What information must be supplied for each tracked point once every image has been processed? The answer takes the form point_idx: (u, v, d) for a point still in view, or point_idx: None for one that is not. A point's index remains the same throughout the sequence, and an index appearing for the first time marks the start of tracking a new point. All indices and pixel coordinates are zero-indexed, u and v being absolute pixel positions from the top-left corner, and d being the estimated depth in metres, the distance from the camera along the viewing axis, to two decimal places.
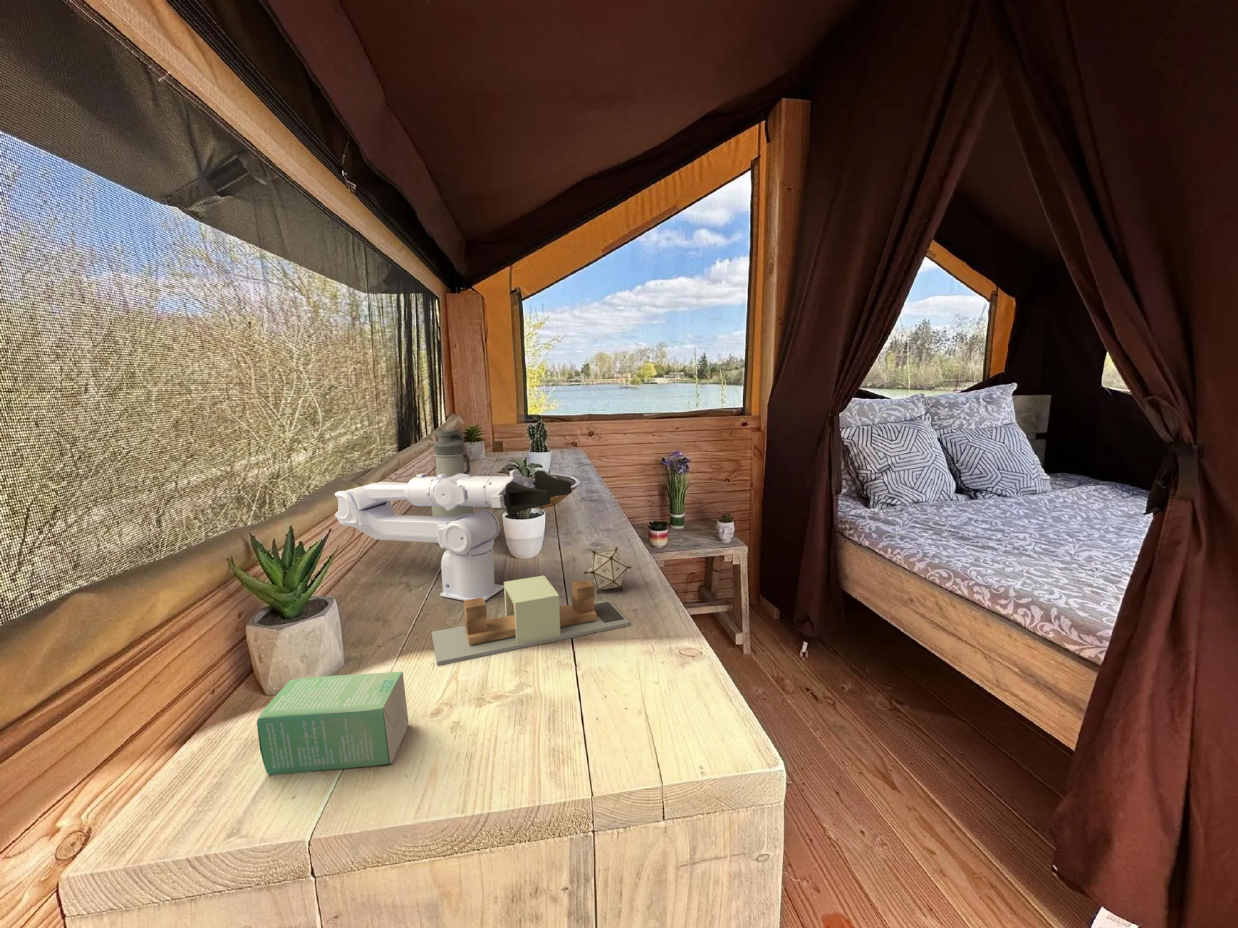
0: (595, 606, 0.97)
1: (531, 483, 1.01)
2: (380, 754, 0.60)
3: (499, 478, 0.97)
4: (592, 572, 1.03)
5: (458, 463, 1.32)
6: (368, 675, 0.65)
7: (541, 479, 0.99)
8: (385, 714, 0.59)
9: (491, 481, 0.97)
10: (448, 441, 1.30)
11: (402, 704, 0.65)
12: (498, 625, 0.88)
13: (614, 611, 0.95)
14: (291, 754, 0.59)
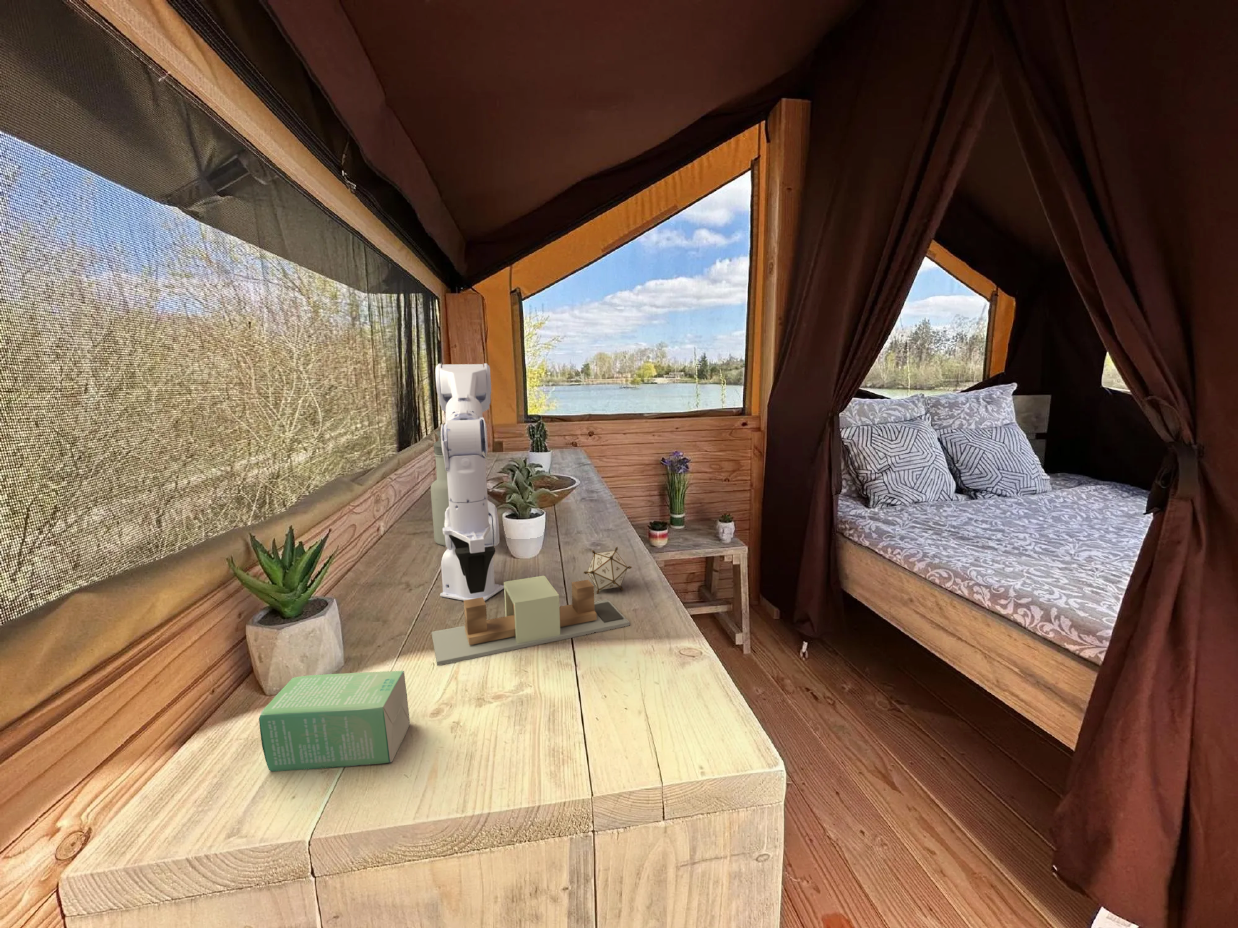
0: (595, 606, 0.97)
1: None
2: (380, 753, 0.60)
3: None
4: (592, 572, 1.03)
5: None
6: (370, 674, 0.65)
7: None
8: (385, 713, 0.59)
9: None
10: None
11: (403, 703, 0.65)
12: (498, 625, 0.88)
13: (614, 611, 0.95)
14: (293, 752, 0.59)
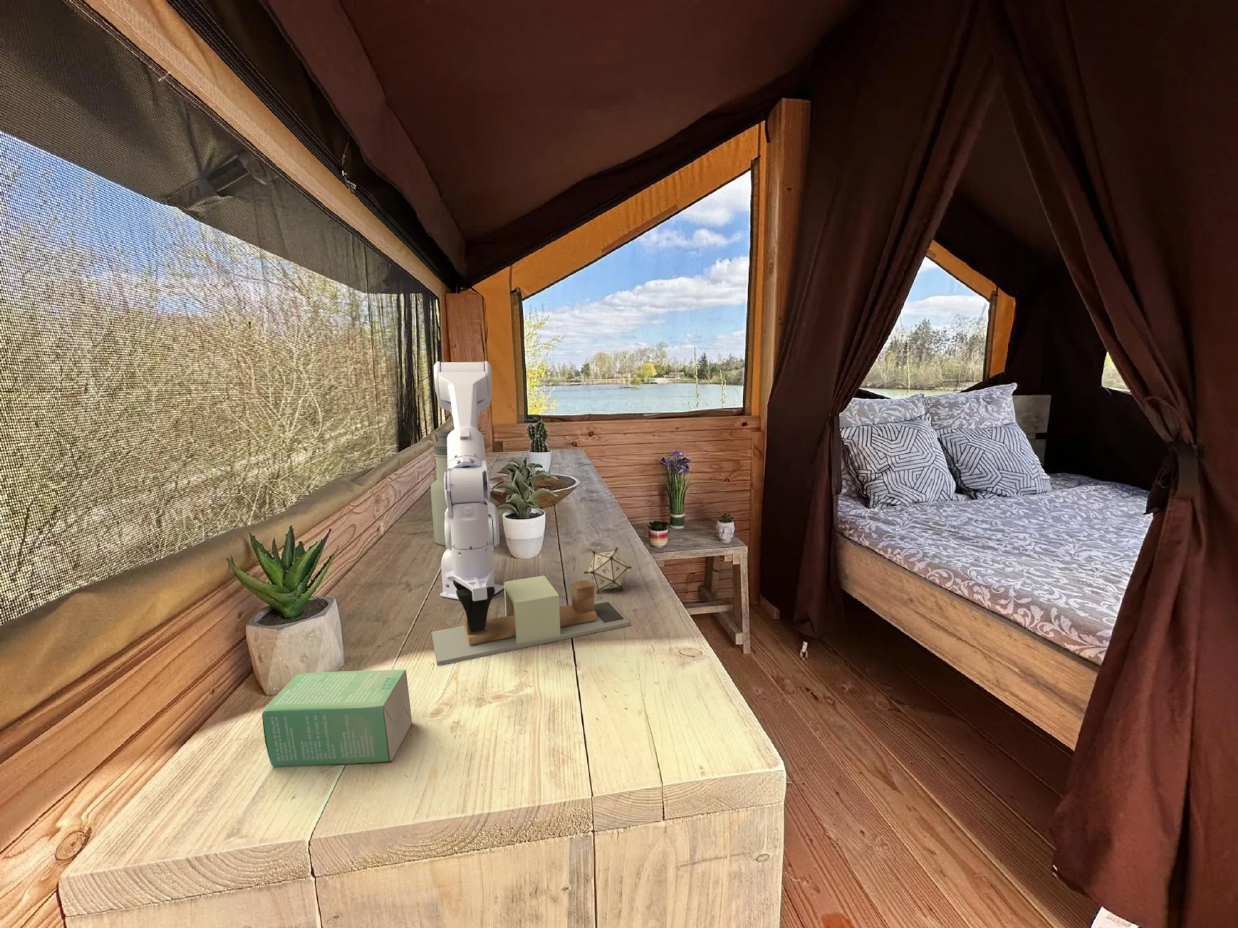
0: (595, 606, 0.97)
1: None
2: (380, 751, 0.60)
3: None
4: (592, 572, 1.03)
5: None
6: (372, 672, 0.65)
7: None
8: (385, 712, 0.60)
9: None
10: None
11: (405, 702, 0.65)
12: (498, 625, 0.88)
13: (614, 611, 0.95)
14: (294, 748, 0.60)
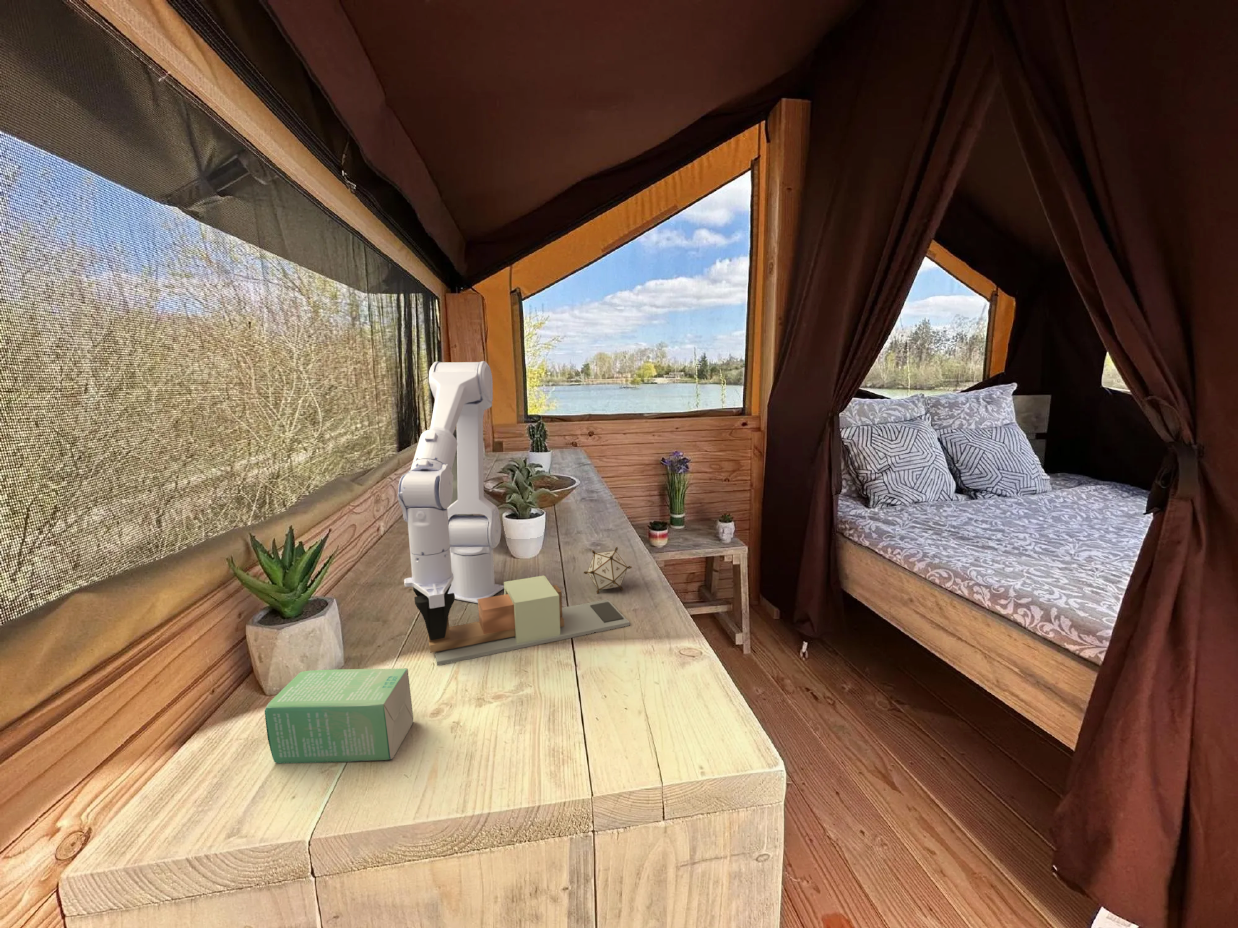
0: (595, 606, 0.97)
1: None
2: (381, 749, 0.60)
3: None
4: (592, 572, 1.03)
5: None
6: (374, 670, 0.66)
7: None
8: (385, 710, 0.60)
9: None
10: None
11: (406, 700, 0.66)
12: (462, 632, 0.86)
13: (614, 611, 0.95)
14: (296, 745, 0.60)
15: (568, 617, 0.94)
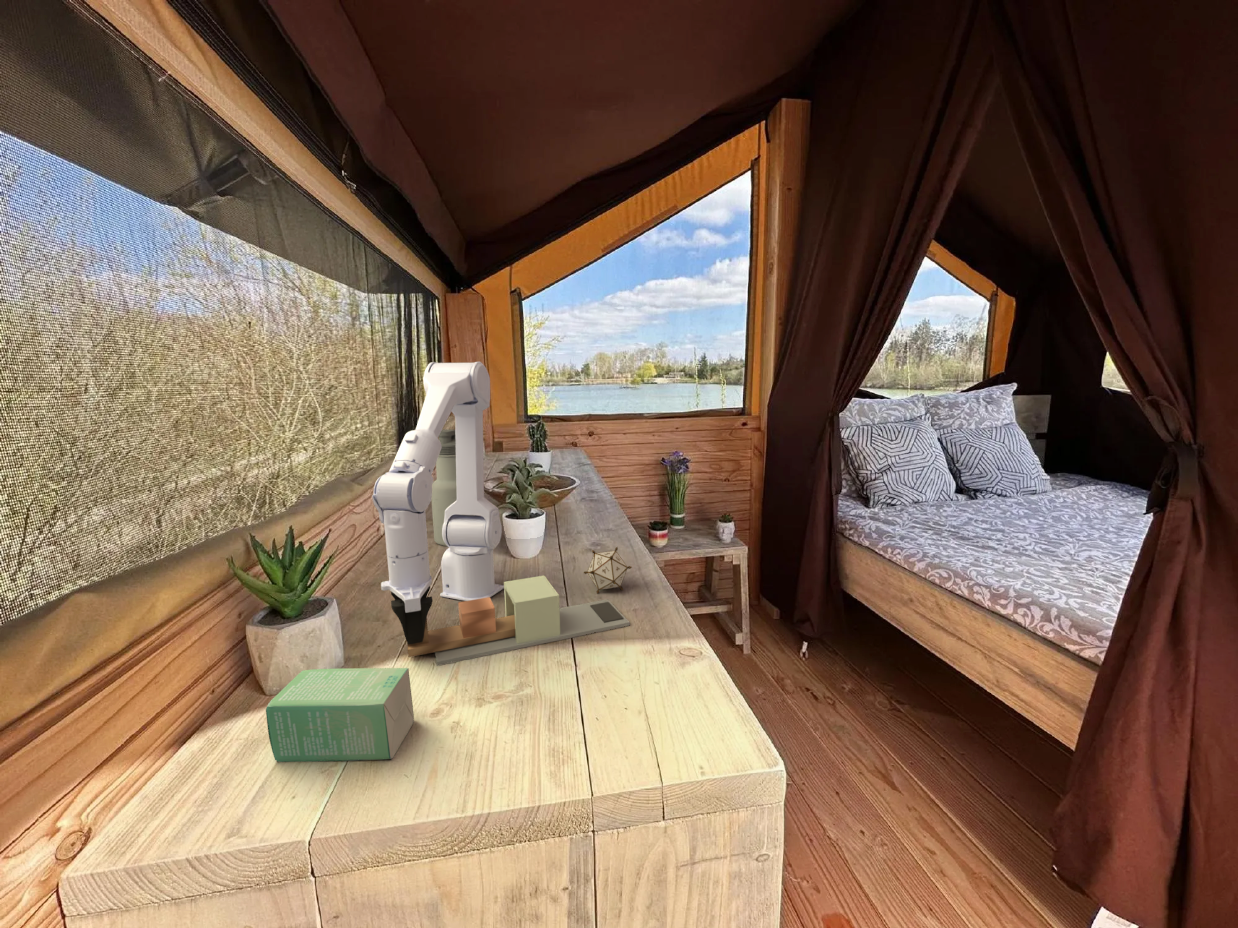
0: (595, 606, 0.97)
1: None
2: (381, 749, 0.60)
3: None
4: (592, 572, 1.03)
5: None
6: (375, 670, 0.66)
7: None
8: (385, 710, 0.60)
9: None
10: (448, 441, 1.30)
11: (407, 700, 0.66)
12: (441, 635, 0.84)
13: (614, 611, 0.95)
14: (297, 743, 0.60)
15: (568, 617, 0.94)
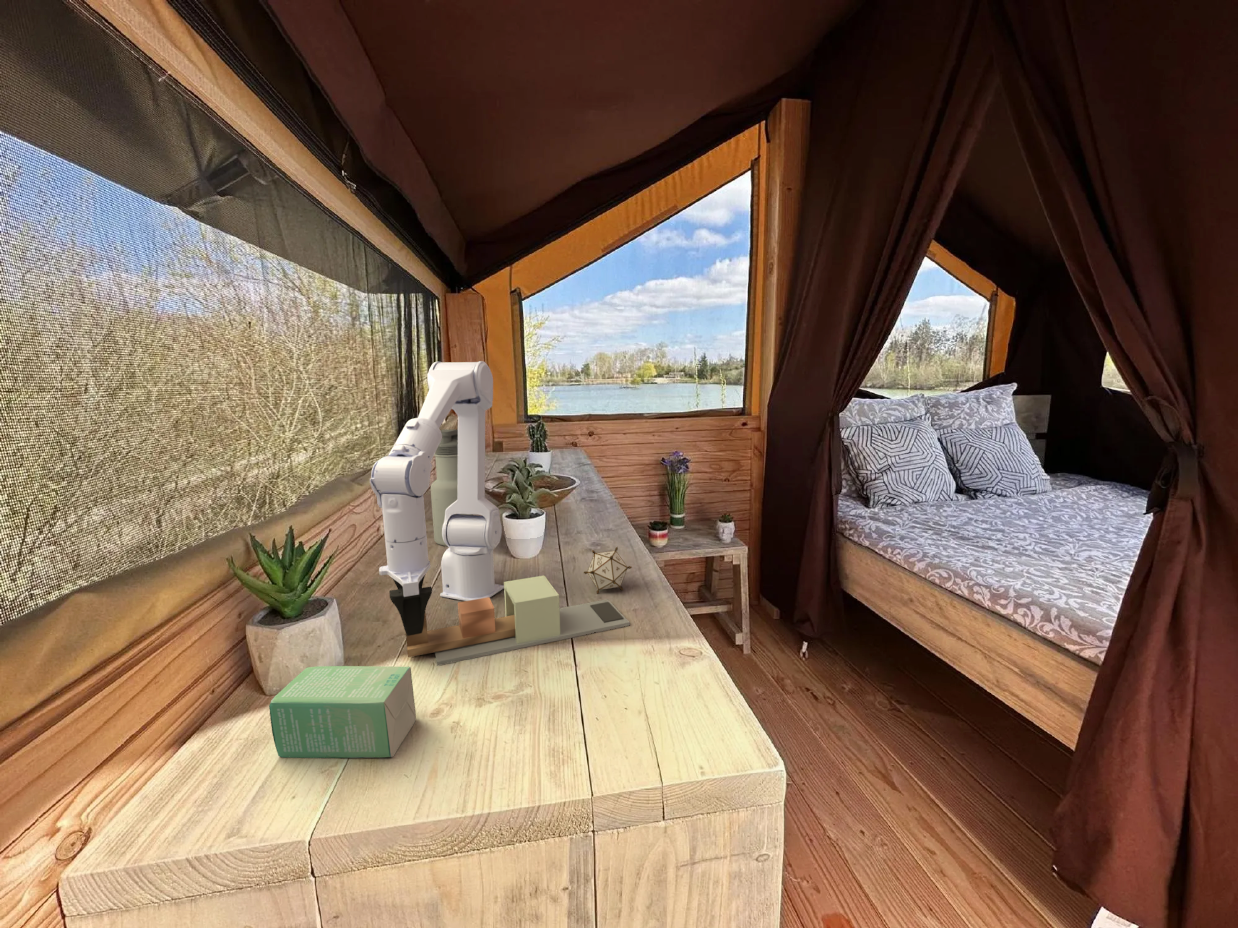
0: (595, 606, 0.97)
1: None
2: (381, 747, 0.61)
3: None
4: (592, 572, 1.03)
5: None
6: (378, 668, 0.66)
7: None
8: (386, 708, 0.60)
9: None
10: (448, 441, 1.30)
11: (408, 699, 0.66)
12: (441, 636, 0.84)
13: (614, 611, 0.95)
14: (300, 740, 0.61)
15: (568, 617, 0.94)
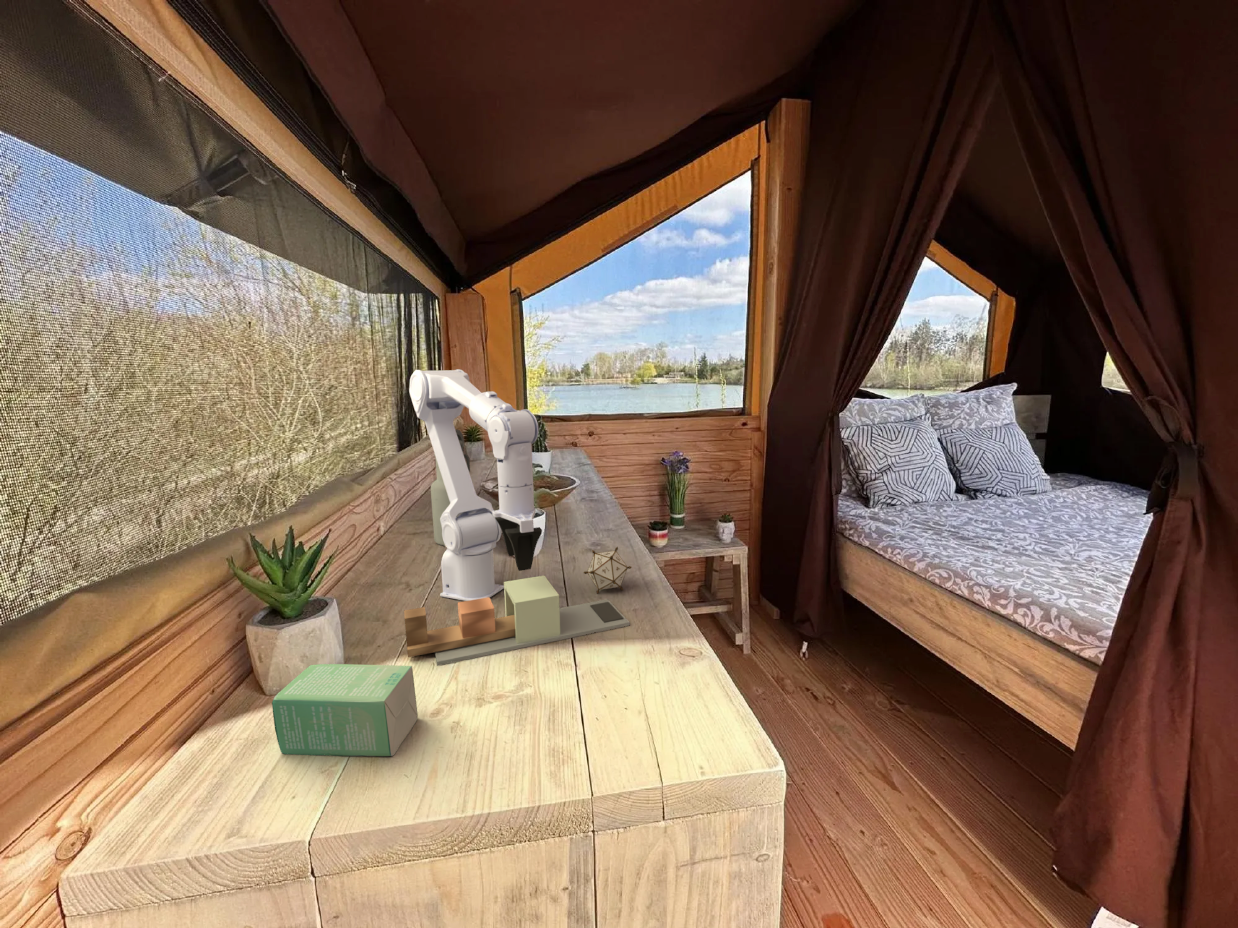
0: (595, 606, 0.97)
1: None
2: (382, 746, 0.61)
3: None
4: (592, 572, 1.03)
5: None
6: (380, 666, 0.67)
7: None
8: (386, 707, 0.60)
9: None
10: None
11: (410, 698, 0.66)
12: (441, 636, 0.84)
13: (614, 611, 0.95)
14: (302, 737, 0.61)
15: (568, 617, 0.94)
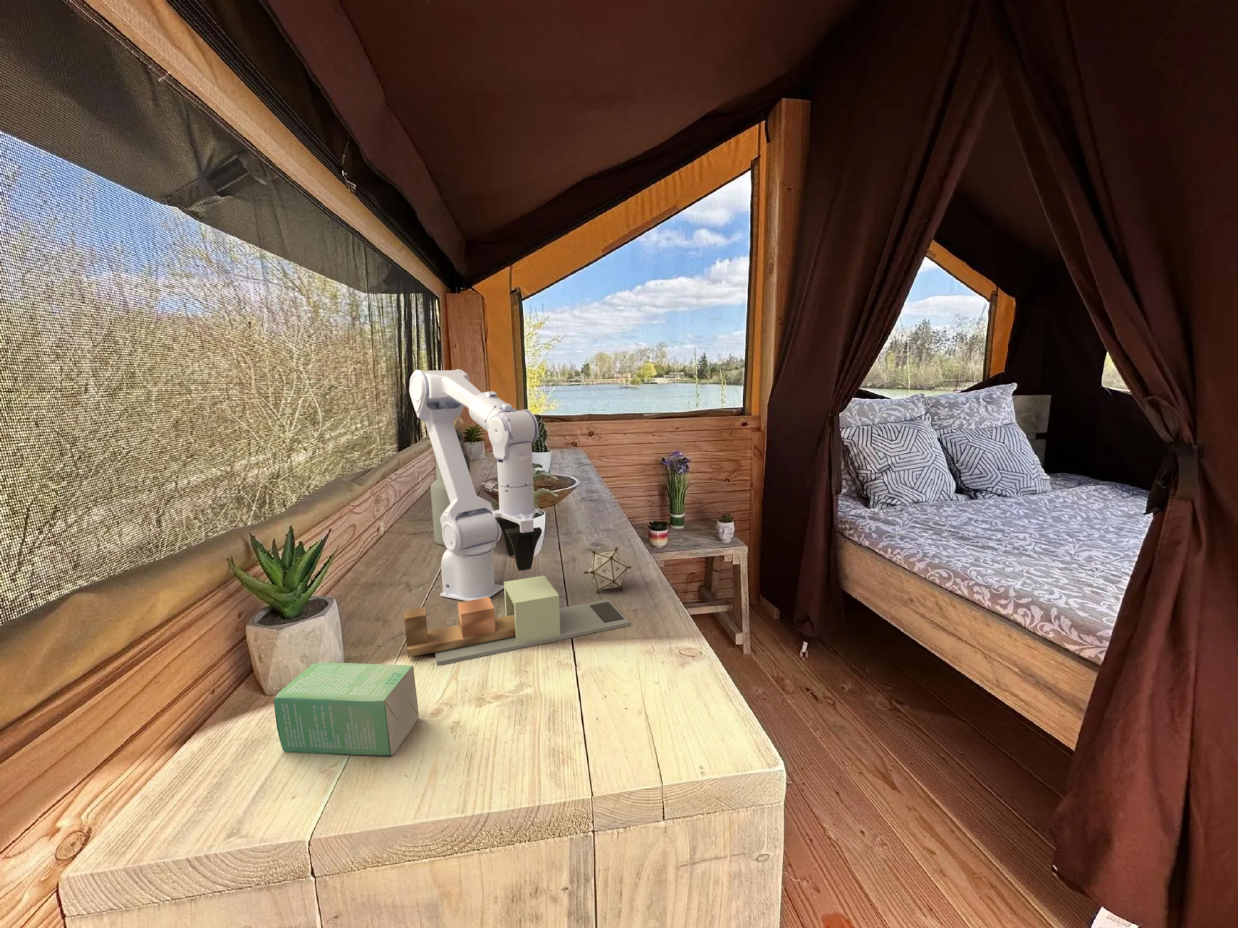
0: (595, 606, 0.97)
1: None
2: (382, 745, 0.61)
3: None
4: (592, 572, 1.03)
5: None
6: (381, 666, 0.67)
7: None
8: (386, 706, 0.61)
9: None
10: None
11: (411, 697, 0.66)
12: (441, 636, 0.84)
13: (614, 611, 0.95)
14: (303, 735, 0.62)
15: (568, 617, 0.94)
